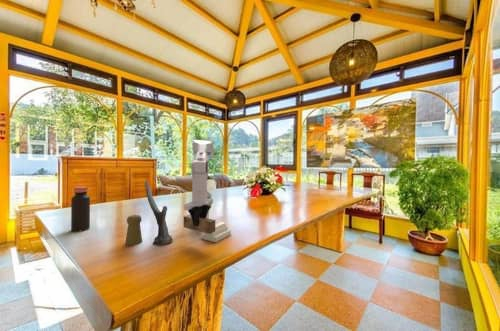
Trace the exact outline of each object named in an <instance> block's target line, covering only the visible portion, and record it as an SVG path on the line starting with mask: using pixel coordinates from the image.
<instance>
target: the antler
mask: <svg viewBox="0 0 500 331" xmlns="http://www.w3.org/2000/svg"><path fill="white" fill-rule="evenodd" d="M149 184H150V183H148V180H147V181H145V183H144V187H145V192H146V197H147V200H148V204H149V206H150V209H151V211H152V213H153V215H154V216H155V221H156V224H157V227H158V229H157V230H158V231H157V236H156V237H154V239H153V242H152V244H153V245H154V246H155V245H157V246H158V245H159V246H163V245H166V244H169V243H172V241H173V240H174V238H173V237H172V235H170V234H169V228H168V225H167V223H166V222H167V221H166V216H167V211H168V206H166V205H164V206H162V209H161V211H160V209H159V207H158V206H157V204H156V200H154V197H153V194H152V191H151V189H150V185H149Z"/></svg>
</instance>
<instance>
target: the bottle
mask: <svg viewBox="0 0 500 331" xmlns="http://www.w3.org/2000/svg"><path fill="white" fill-rule="evenodd" d="M88 191H89V190H88V186H76V187H75V186H74V187H73V193H74V196H72V197H71V205H70V206H71V209H70V210H71V217H70V231H71V232H74V233H75V232H77V233H78V232H83V231H87V230H90V227H91V224H90V223H91V197H90V195H88Z"/></svg>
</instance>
